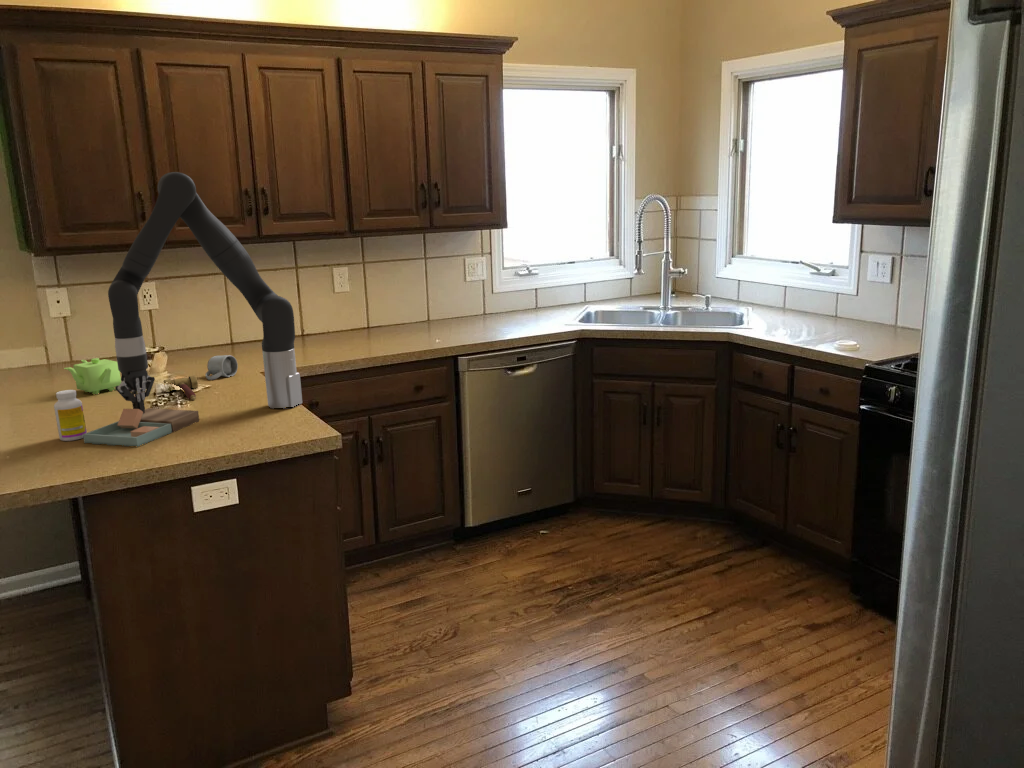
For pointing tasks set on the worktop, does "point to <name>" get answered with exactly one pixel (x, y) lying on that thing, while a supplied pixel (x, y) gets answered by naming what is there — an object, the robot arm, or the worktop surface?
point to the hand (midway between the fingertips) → (139, 413)
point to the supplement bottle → (69, 416)
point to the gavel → (186, 385)
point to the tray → (126, 434)
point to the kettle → (96, 375)
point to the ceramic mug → (221, 367)
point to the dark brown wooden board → (170, 417)
